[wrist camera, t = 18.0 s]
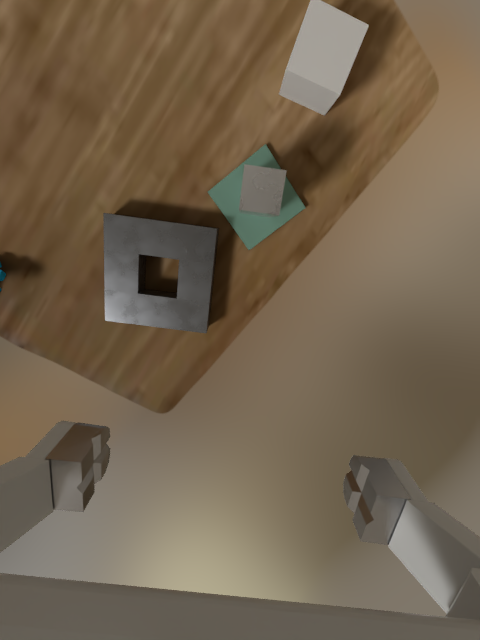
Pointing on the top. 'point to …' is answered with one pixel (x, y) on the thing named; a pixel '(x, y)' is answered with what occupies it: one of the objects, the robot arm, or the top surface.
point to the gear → (2, 274)
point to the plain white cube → (322, 56)
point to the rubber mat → (250, 225)
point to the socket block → (130, 266)
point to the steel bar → (262, 191)
